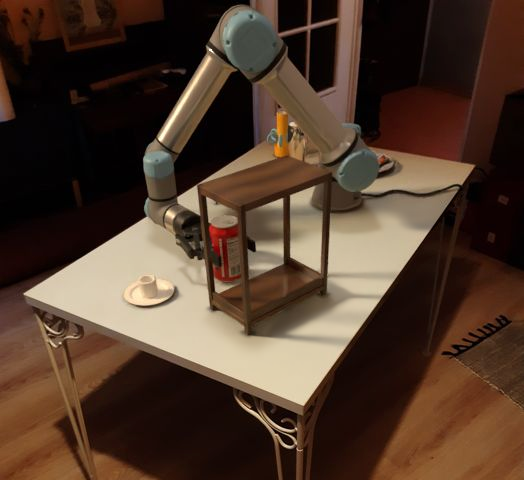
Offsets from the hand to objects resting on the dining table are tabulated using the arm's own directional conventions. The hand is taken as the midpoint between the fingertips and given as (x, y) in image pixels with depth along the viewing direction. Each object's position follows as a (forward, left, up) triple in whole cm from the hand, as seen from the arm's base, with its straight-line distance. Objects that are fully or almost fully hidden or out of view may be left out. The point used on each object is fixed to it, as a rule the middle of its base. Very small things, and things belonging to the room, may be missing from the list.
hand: (237, 254), depth 134 cm
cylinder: (-24, -88, -8) cm, 91 cm away
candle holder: (+22, +1, -8) cm, 23 cm away
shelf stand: (-6, +9, -8) cm, 14 cm away
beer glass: (-27, -74, -8) cm, 79 cm away
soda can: (+2, -4, -8) cm, 9 cm away
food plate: (-48, -71, -8) cm, 86 cm away
